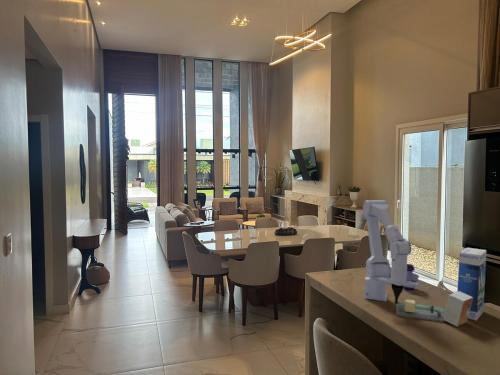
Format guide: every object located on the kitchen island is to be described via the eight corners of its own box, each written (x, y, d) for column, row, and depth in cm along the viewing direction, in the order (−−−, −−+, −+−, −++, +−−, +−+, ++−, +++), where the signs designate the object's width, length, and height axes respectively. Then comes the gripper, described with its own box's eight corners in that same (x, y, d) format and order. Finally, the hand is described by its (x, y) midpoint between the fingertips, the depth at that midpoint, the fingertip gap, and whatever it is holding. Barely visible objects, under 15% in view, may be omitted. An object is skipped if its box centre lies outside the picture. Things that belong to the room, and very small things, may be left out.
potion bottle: (395, 287, 178) (396, 263, 178) (407, 284, 182) (408, 261, 182) (410, 292, 171) (411, 267, 170) (422, 290, 175) (423, 265, 174)
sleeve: (405, 311, 145) (405, 302, 145) (404, 307, 148) (405, 299, 148) (414, 312, 144) (415, 303, 144) (414, 309, 147) (414, 300, 147)
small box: (457, 327, 134) (463, 301, 132) (442, 319, 139) (448, 294, 137) (467, 322, 139) (474, 297, 137) (452, 314, 143) (458, 290, 141)
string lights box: (476, 321, 140) (480, 255, 138) (454, 315, 145) (458, 251, 143) (483, 311, 150) (487, 249, 148) (462, 306, 155) (466, 246, 153)
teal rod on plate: (396, 315, 144) (396, 303, 144) (395, 308, 152) (396, 296, 151) (444, 322, 138) (445, 310, 138) (441, 314, 146) (442, 302, 145)
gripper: (379, 270, 146) (377, 303, 147) (419, 275, 140) (417, 309, 141) (380, 265, 152) (378, 297, 153) (417, 270, 147) (415, 303, 148)
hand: (396, 302), depth 148 cm, fingers closed, pressing on teal rod on plate
